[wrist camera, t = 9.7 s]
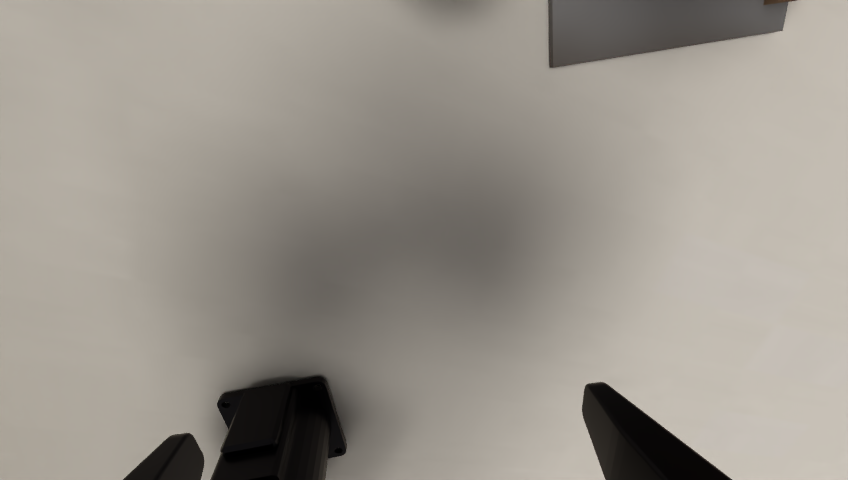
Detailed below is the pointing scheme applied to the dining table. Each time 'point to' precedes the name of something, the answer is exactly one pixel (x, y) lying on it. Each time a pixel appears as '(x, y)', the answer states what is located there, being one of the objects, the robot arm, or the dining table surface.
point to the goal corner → (652, 25)
